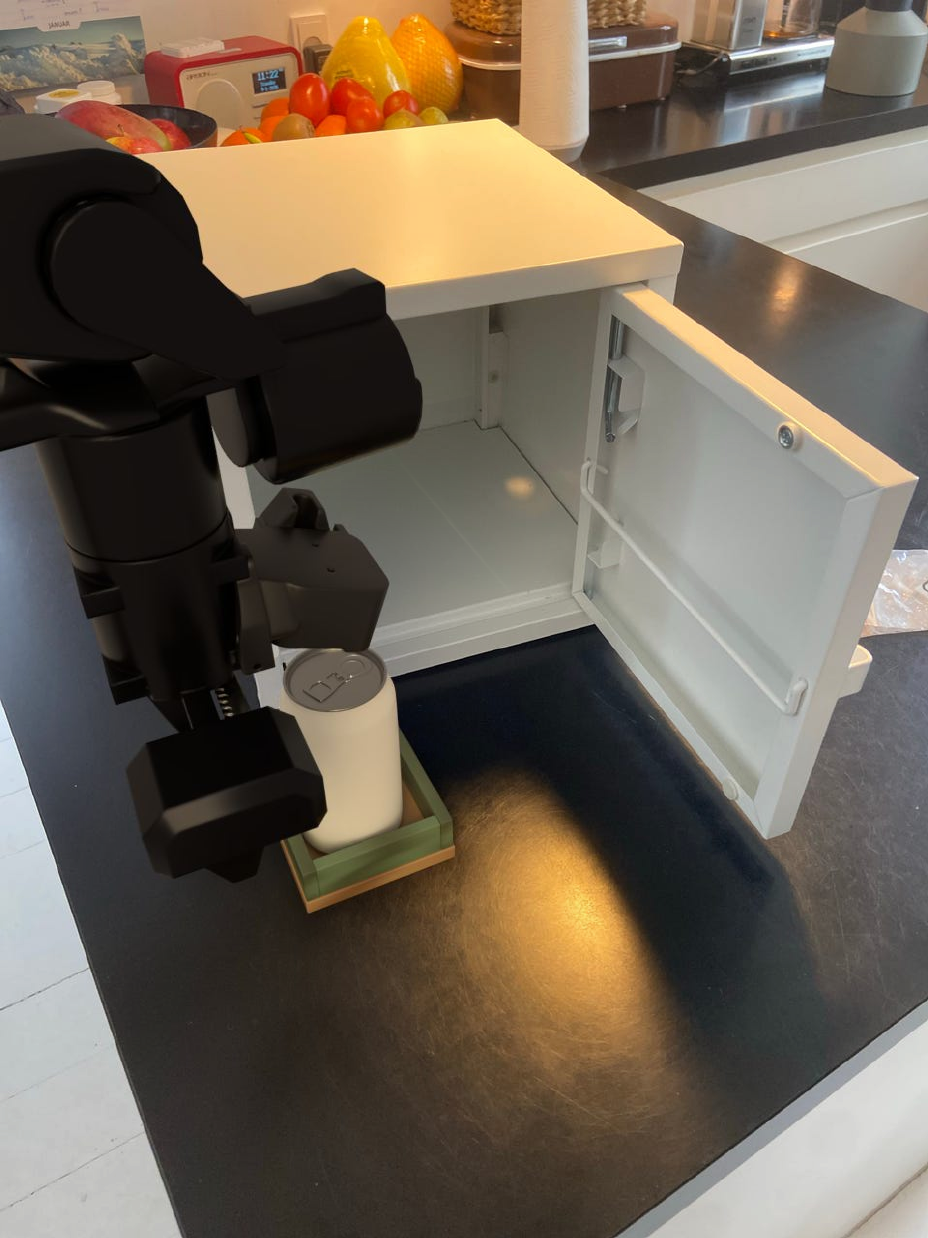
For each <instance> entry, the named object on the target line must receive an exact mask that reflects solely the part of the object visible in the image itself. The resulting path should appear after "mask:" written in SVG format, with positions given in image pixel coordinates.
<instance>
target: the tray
mask: <svg viewBox="0 0 928 1238" xmlns="http://www.w3.org/2000/svg"><path fill="white" fill-rule="evenodd" d="M398 731H399V747H400V764H401V781H402V800H403V815H402V821H401V824H400V826H399V828H398V829H396V830H393V831H390V832H388V833H385V834H382V835H380V836H377V837H374V838H372V839H369V840H366V841H363V842H361V843H358V844H355V845H353V846H350V847H347V848H345V849H342V850H339V851H336V852H334V853H331V854H327V853H324V852H322V851H320V850H318V849H316V848H315V847H313V846H312V845H311V844H310V843H309V842H308V841H307V840H306V839H305V837H304V836H303V834H302V833H301V834H299V835H296V836H293V837H290V838H287V839H285V840H282V841H279V842H280V845H281V847H282V851H283V853H284V855H285V858H286V862H287V864H288V866H289V869H290V871H291V874H292V876H293V879H294V882H295V884H296V887H297V890H298V892H299V895H300V897H301V900H302V903H303V905H304V907H305V910H306V913H307V914H311V913H314V912H317V911H319V910H322V909H325V908H327V907H330V906H333V905H335V904H337V903H340V902H342V901H345V900H347V899H350V898H353V897H355V896H359V895H360V894H363V893H366V892H368V891H371V890H373V889H376V888H378V887H381V886H383V885H386V884H389V883H391V882H393V881H397V880H399V879H402V878H404V877H406V876H409V875H413V874H414V873H417V872H419V871H422V870H424V869H427V868H429V867H432V866H435V865H438V864H441V863H442V862H445V861H447V860H450V859H453V858H455V857H456V846H455V844H454V820H453V817H452V815H451V813H450V812H449V811H448V809H447V807H446V805H445V803H444V802H443V800H442V799H441V797H440V795H439V793H438V791H437V789H436V788H435V786H434V785H433V783H432V781H431V779H430V778H429V776H428V774H427V772H426V770H425V769H424V767H423V766H422V764H421V762H420V761H419V759H418V757H417V755H416V754H415V752H414V750H413V748H412V747H411V745H410V743H409V741H408V740H407V738H406V737H405V734H404V732H402V731H403V730H402V729H401V728H400V726H399V725H398Z"/></svg>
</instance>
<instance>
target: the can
mask: <svg viewBox="0 0 928 1238" xmlns="http://www.w3.org/2000/svg"><path fill="white" fill-rule="evenodd" d="M282 675H283V676H282V687H281V690H280V692H279V696H278V697H279V698H278V707H279V709H278V710H280V711H283V712H286V713H288V714H291V715H293V716H295V718H296V720H297V722H298V724H299V727H300V729H301V731H302V733H303V735H304V737H305V740H306V742H307V744H308V746H309V748H310V750H311V753H312V755H313V757H314V759H315V761H316V763H317V766H318V768H319V770H320V772H321V774H322V776H323V782H324V789H325V796H326V803H327V810H328V811H327V813H326V815H325V816H324V818H323V820H322V821H321V823H320V825H319V826H318V828H315V829H312V830H310V831H307V832H304V833H302V834H303V836H304V837H305V839H306V840H307V841H308V842H309V843H310V844H311V845H312V846H313V847H315V848H316V849H318V850H320V851H322V852H324V853H327V854H331V853H334V852H336V851H339V850H342V849H345V848H347V847H350V846H353V845H355V844H358V843H361V842H363V841H366V840H369V839H372V838H374V837H377V836H380V835H382V834H385V833H388V832H390V831H393V830H396V829H398V828H399V826H400V824H401V821H402V815H403V800H402V781H401V764H400V747H399V731H398V726H399V718H398V717H399V716H398V703H397V692H396V688H395V684H394V681H393V679H392V677H391V676H390V675H389V673H388V669H387V666H386V663H385V661H384V659H383V658H382V657H381V655H379V654H378V653H377V652H376V651H375V650H374V649H372V648H370V647H369V648H368V649H366V650H365V651H362V652H355V653H347V652H345V651H344V650H343V649H305V650H303V651H302V652H300V653H298V654H297V655H296V656H294V657H293V658H292V660H290V662H288V664H287V665H286V667H285V669H284V672H283V674H282Z"/></svg>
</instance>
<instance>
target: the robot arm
mask: <svg viewBox="0 0 928 1238" xmlns="http://www.w3.org/2000/svg"><path fill="white" fill-rule="evenodd" d="M386 291H387V290H386V285H385V283H383V282H382V281H381V280H379V279H377V278H375V277H373V276H371V275H369V274H367V273H365V272H364V271H361V270H360V269H357V268H355V267H351V268H346V269H342V270H337V271H333V272H329V273H326V274H324V275H322V276H320V277H318V278H316V279H314V280H312V281H310V282H307V283H304V284H303V283H302V284H299V285H295V286H291V287H286V288H282V289H276V290H272V291H268V292H263V293H259V294H254V295H250V296H245V297H242V296H241V295H239V293H236V292H235V291H233V290H232V289H230V288H229V287H227V285H225V284H224V282H222V280H220V279H219V278H218V277H217V276H216V275H215V273H213V272H212V271H211V270H210V269H209V268H208V266H206V265H205V264H204V253H203V248H202V243H201V237H200V232H199V226H198V224H197V222H196V220H195V217H194V216H193V214H192V212H191V210H190V208H189V206H188V203H187V201H186V200H185V198H184V196H183V195H182V193H181V192H180V191H179V190H178V189H177V188H176V187H175V186H174V185H173V183H172V182H170V181H169V179H168V178H167V177H166V176H165V175H164V174H163V172H161V171H160V170H159V169H158V168H156V167H155V166H154V165H153V164H151V163H150V162H147V161H145V160H144V159H141V158H139V157H138V156H136V155H134V154H132V153H130V152H129V151H126V150H124V149H122V148H120V147H119V146H117V145H115V144H113V143H111V142H109V141H107V140H105V139H103V138H102V137H99V136H98V135H95V134H93V132H90V131H89V130H86V129H84V128H82V127H80V126H79V125H76V124H75V123H72V122H70V121H68V120H67V119H64V118H59V117H56V116H52V115H48V114H43V113H38V112H37V113H36V112H33V113H32V112H31V113H30V112H28V113H27V112H26V113H13V114H5V115H0V453H2V452H6V451H9V450H10V451H11V450H14V449H18V448H20V447H25V446H28V445H31V444H33V447H34V450H35V453H36V457H37V459H38V463H39V465H40V469H41V471H42V474H43V478H44V479H45V480H44V481H45V484H46V487H47V490H48V493H49V495H50V499H51V502H52V505H53V508H54V511H55V515H56V518H57V521H58V523H59V526H60V530H61V532H62V536H63V540H64V543H65V545H66V549H67V551H68V555H69V558H70V561H71V565H72V570H73V574H74V578H75V582H76V586H77V591H78V594H79V598H80V601H81V605H82V607H83V611H84V613H85V616H86V619H87V620H90V622H91V624H92V628H93V631H94V634H95V637H96V640H97V643H98V646H99V649H100V654H101V658H102V663H103V667H104V669H105V674H106V679H107V682H108V686H109V690H110V693H111V695H112V699H113V702H114V705H115V706H118V705H121V704H125V703H128V702H133V701H135V700H136V701H137V700H140V699H142V698H147V699H148V700H149V701H150V702H151V704H152V705H153V706H154V707H155V708H156V709H157V710H158V712H159V713H160V714H161V715H162V716H163V718H164V719H166V720H167V722H168V723H169V724H170V726H172V728H174V729H175V731H176V732H177V733H173V734H170V735H167V736H164V737H161V738H157V739H153V740H150V741H147V742H145V743H144V744H143V745H142V746H141V748H140V749H139V751H138V752H137V753H136V755H135V756H133V758H132V759H131V760H130V762H129V763H128V764H127V766H125V768H124V771H125V776H126V780H127V784H128V788H129V791H130V795H131V800H132V804H133V808H134V812H135V817H136V820H137V824H138V828H139V833H140V838H141V841H142V843H143V846H144V849H145V852H146V855H147V858H148V860H149V864H150V866H151V869H152V872H153V873H154V874H157V875H159V876H163V877H166V878H169V879H171V880H175V879H179V878H181V877H183V876H187V875H190V874H192V873H195V872H198V871H200V870H203V869H205V870H206V871H209V872H211V873H212V874H214V875H216V876H218V877H219V878H222V879H223V880H226V881H228V882H229V883H231V884H237V883H238V884H239V883H241V882H243V881H246V880H249V879H251V878H254V877H255V876H256V875H258V872H259V870H260V869H259V868H260V864H261V862H262V858H263V853H264V852H265V851H264V850H265V847H268V846H270V845H274V844H276V843H278V842H280V841H282V840H285V839H287V838H290V837H293V836H296V835H299V834H301V833H304V832H307V831H310V830H312V829H315V828H318V826H319V825H320V823H321V821H322V820H323V818H324V816H325V815H326V813H327V811H328V810H327V803H326V796H325V789H324V782H323V776H322V774H321V772H320V770H319V768H318V766H317V763H316V761H315V759H314V757H313V755H312V753H311V750H310V748H309V746H308V744H307V742H306V740H305V737H304V735H303V733H302V731H301V729H300V727H299V724H298V722H297V720H296V718H295V716H293V715H291V714H288V713H286V712H283V711H280V709H277V708H275V707H272V706H270V705H265V706H262V707H259V708H254V709H251V706H250V704H249V701H248V699H247V697H246V695H245V691H244V689H243V687H242V684H241V682H240V679H239V677H238V675H237V671H241V673H242V674H243V675H244V676H251V675H254V674H257V673H261V672H264V671H268V670H271V669H274V668H276V667H277V666H276V665H277V664H276V660H275V654H274V649H273V646H275V647H279V648H283V649H290V650H292V649H293V650H294V649H295V650H299V649H301V650H303V649H305V650H307V649H343V650H344V651H345V652H347V653H355V652H362V651H365V650H366V649H368V648H370V646H371V643H372V640H373V637H374V634H375V631H376V628H377V624H378V621H379V618H380V615H381V612H382V609H383V606H384V603H385V600H386V597H387V593H388V591H389V587H390V581H389V578H388V576H387V575H386V574H385V572H384V571H383V569H382V567H380V565H379V563H378V562H377V561H376V559H375V557H374V556H373V555H372V553H371V552H370V551H369V549H368V547H367V546H366V544H365V543H364V542H363V541H362V540H361V539H359V538H358V537H357V536H354V535H353V534H351V533H349V532H348V530H347V528H346V527H345V526H344V524H343V523H333V524H334V525H333V529H332V530H331V528H330V524H329V520H328V517H327V511H326V509H325V507H323V505H322V503H321V501H320V500H319V499H318V497H317V495H316V494H315V492H314V491H313V490H311V489H308V488H307V489H306V488H297V487H288V486H287V487H286V486H285V487H284V486H283V487H281V489H279V491H278V492H277V493H276V494H275V496H274V497H273V498H272V499H271V500H270V502H269V503H268V504H267V506H266V507H265V508H264V509H263V510H262V511H261V513H260V514H259V516H258V517H255V518H254V522H253V526H252V527H251V528H235V525H234V520H233V516H232V512H231V511H230V509H229V507H228V503H227V499H226V494H225V488H224V484H223V478H222V472H221V467H220V464H219V463H220V461H219V457H218V452H217V451H218V450H217V446H216V441H215V440H216V439H217V441H218V444H219V445H220V447H221V449H222V451H223V453H224V454H225V456H226V457H227V458H228V459H229V460H230V462H231V463H232V464H233V465H235V466H236V467H237V468H242V469H243V468H246V467H249V466H253V467H254V469H255V470H256V471H257V472H258V474H259V475H260V476H261V477H262V478H263V479H264V480H265V481H266V482H268V483H270V484H272V485H274V486H282V485H285V484H287V483H291V482H294V481H297V480H301V479H303V478H306V477H310V476H313V475H315V474H318V473H321V472H325V471H327V470H328V471H329V470H330V469H334V468H337V467H339V466H343V465H345V464H349V463H352V462H355V461H358V460H361V459H364V458H367V457H370V456H372V455H376V454H379V453H382V452H385V451H389V450H391V449H395V448H397V447H400V446H403V445H406V444H408V443H410V442H411V441H413V439H414V438H415V437H416V436H417V433H418V431H419V429H420V426H421V422H422V418H423V407H424V405H423V404H424V398H423V396H424V395H423V387H422V383H421V381H420V379H419V378H417V377H416V375H415V370H414V369H415V368H414V365H413V362H412V359H411V355H410V353H409V350H408V347H407V344H406V342H405V341H404V338H403V336H402V333H401V332H400V330H399V329H398V327H397V325H396V324H395V322H394V321H393V319H392V318H391V316H390V315H389V314H388V312H387V310H388V309H387V292H386ZM214 435H215V436H214ZM215 437H216V439H215ZM211 691H212V692H213V691H214V694H215V696H216V700H217V701H218V704H219V708H221V713H222V714H223V719H222V718H220V715H219V711H218V709H217V707H216V704H215V701H214V699H213V695H212V694H211Z"/></svg>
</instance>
